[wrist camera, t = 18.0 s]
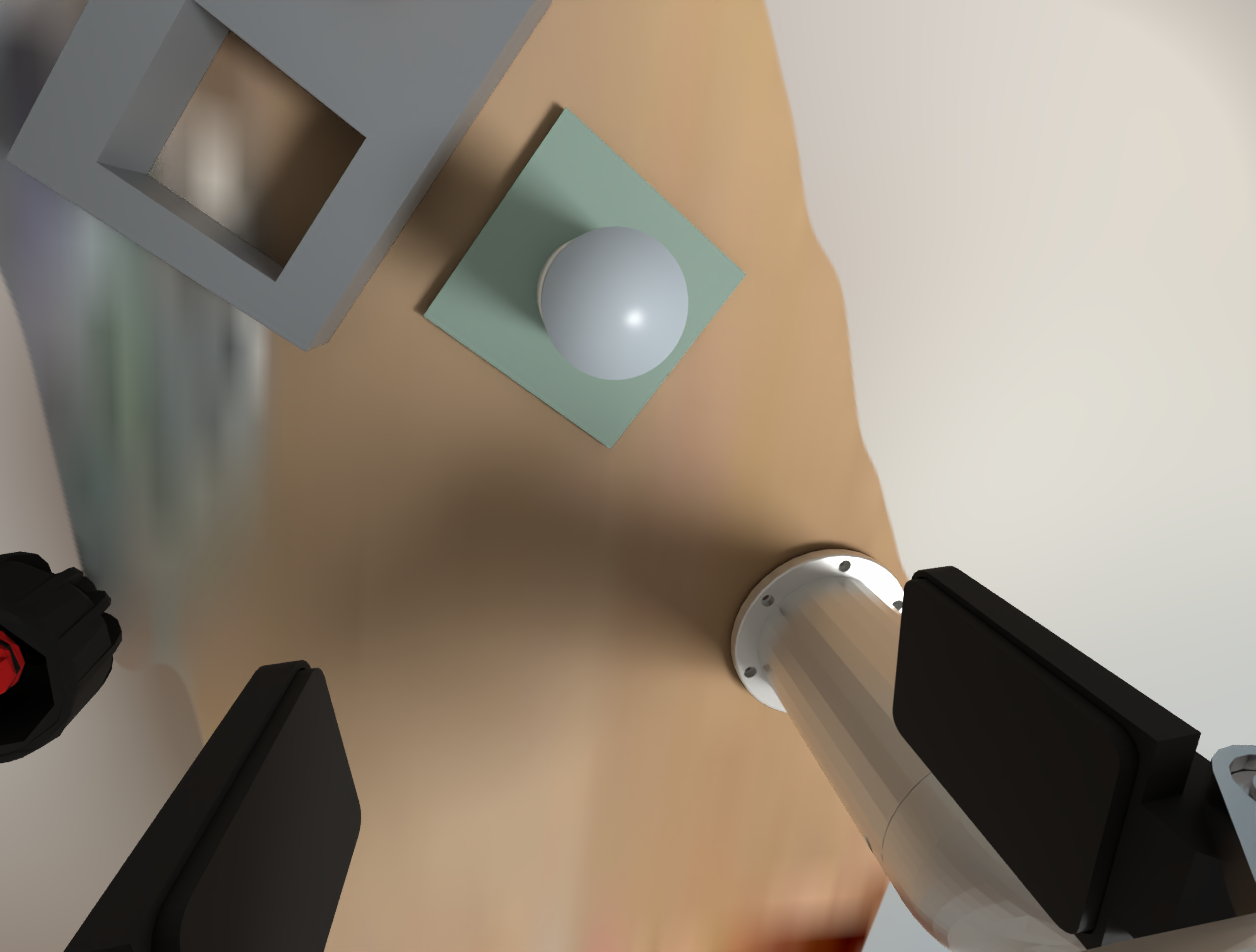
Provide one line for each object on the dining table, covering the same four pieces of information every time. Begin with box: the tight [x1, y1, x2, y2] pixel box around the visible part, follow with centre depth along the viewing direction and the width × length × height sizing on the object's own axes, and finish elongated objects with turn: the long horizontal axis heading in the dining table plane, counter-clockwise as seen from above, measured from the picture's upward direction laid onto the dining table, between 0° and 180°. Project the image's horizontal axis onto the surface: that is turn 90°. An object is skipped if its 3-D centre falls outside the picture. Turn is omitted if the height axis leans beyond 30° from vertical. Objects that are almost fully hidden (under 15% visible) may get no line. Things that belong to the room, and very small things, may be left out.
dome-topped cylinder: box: [536, 226, 688, 380], centre depth 27 cm, size 6×6×9 cm
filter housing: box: [5, 0, 552, 352], centre depth 25 cm, size 12×19×4 cm, turn 141°
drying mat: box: [424, 107, 746, 449], centre depth 31 cm, size 12×12×1 cm
